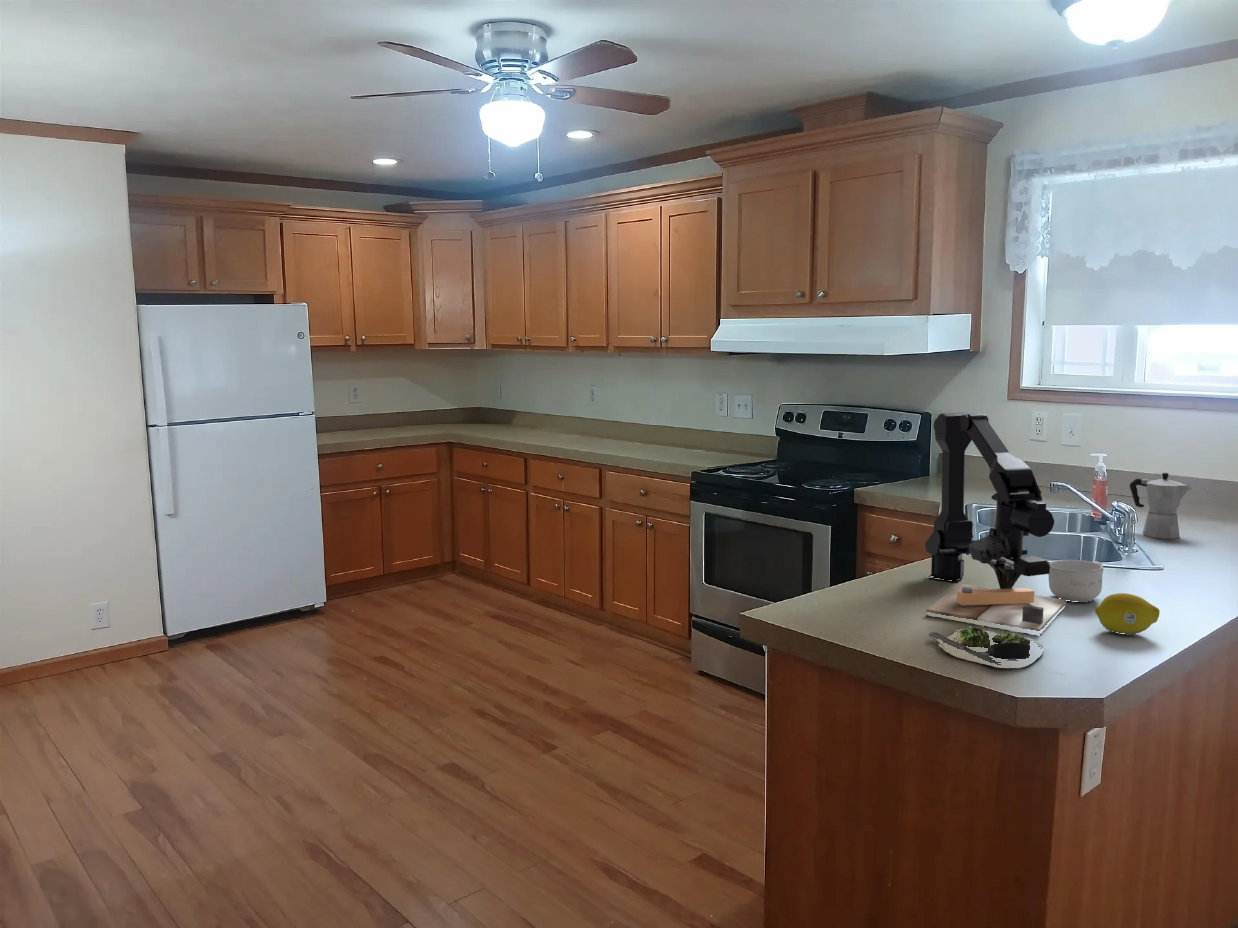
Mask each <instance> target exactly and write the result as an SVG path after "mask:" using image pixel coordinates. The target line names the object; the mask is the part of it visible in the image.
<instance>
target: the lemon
mask: <svg viewBox="0 0 1238 928" xmlns="http://www.w3.org/2000/svg"><path fill="white" fill-rule="evenodd" d="M1094 612H1095V615H1096V616H1097V617H1098V620H1099V622H1100V624H1101V625H1102V627H1103V628H1104V629H1105V630H1108V631H1109V630H1110V631H1109V632H1111V631H1113V632H1118V633H1125V634H1133V635H1136V633H1137V634H1141V633H1142V632H1144V631H1146V630H1148V629H1149V628H1150V627H1151V626H1152V625H1154V624H1155V623H1156V622H1158V619H1159V617H1160V609H1159V608H1158V607H1157V606H1156V605H1153V604H1151V603H1150V602H1149V601H1147V600H1146V599H1144V598H1143V597H1141V596H1138V595H1135V594H1132V593H1123V592H1118V593H1113V594H1109V595H1106V597H1105V598H1104V599H1103V600H1102V601H1101V602H1100V604H1099V605H1098V606H1096V608H1095V609H1094ZM1113 632H1112V633H1113Z"/></svg>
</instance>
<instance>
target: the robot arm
mask: <svg viewBox="0 0 1238 928" xmlns="http://www.w3.org/2000/svg"><path fill="white" fill-rule="evenodd" d="M933 430H934V438H935V441H936V443H937V445H938V446H939V448H940V449H941V453H942V455H941V509H940V510H941V512H940V513H939V514H938V516H937V517H936V519H935V520H934V523H933V532H932V533H931V535H929V537H928V538H927V540H926V541H925V543H924V545H925V551H926V553H928V554H931V566H930V568H931V570H930V571H931V573H930V575H928V578H929V577H930V576H934V577H933V578H940V579H944V580H952V581H957V580H958V579H960V578H961V579H962V578H964V577H963V576H965V574H964V571H965V560H964V559H963V554H964V555H969V554H970V555H971V559H972V560H974V561H978V562H980V563H981V564H984V565H985V564H987V565H989V566H990V568H992V569H993V570H994V572H995V575H996V578H997V583H998V585H999V589H1011V588H1013V587H1014V585H1015V584H1016V583H1017V581H1018V579H1019V578H1020V577H1021V575H1022V576H1024V577H1032V576H1033V577H1034V576H1042V575H1049V573H1050V562H1049V560H1047V559H1044V558H1042V557H1038V556H1036V555H1031V556H1026V555H1028V549H1026V548H1024V542H1025V541H1024V538H1025V537H1028V536H1029V535H1032V536H1034V537H1038V538H1041V537H1046V536H1048V534H1049V533H1051V532H1052V530H1053V529H1054V526H1055V518H1054V516H1053V514H1052V512H1050V510H1048V509H1047V503H1046V502H1042V501H1043V497H1042V494H1041V493H1042V491H1041V489H1040V487H1039V485H1038V482H1037V480H1036V476H1035V475H1034V472H1033V470H1032V469H1031V467H1030V466H1029V465H1027V464H1026V463H1025V461H1024V460H1022V459H1021V458H1018V457H1016V456H1015V455H1013V454H1011V452H1010V451H1009V450H1008V448H1007V446H1006V445H1005V444H1004V443H1003V441H1002V440H1001V438H1000V437H999V435H998V433H996V430H994V428H993V427H992V425H991V423H990V420H989V417H988V415H987V414H985V413H982V412H981V413H978V412H977V413H976V412H975V413H967V412H948V413H947V412H945V413H940V414H939V415H938V416H937V418H935V420H934V421H933ZM971 442H973V444H974V445H975V447H976V449H977V450H978V452H979V453H980V454H981V456H982V458H983V459H984V461H985V462H986V463H987V465H988V468H989V475H988V479H989V480H990V482H991V485H992V486H993V489H994V491H996V493H994V494H993V495H992V496H991V499H992V500H993V501H996V508H995V509H996V510H995V523H994V527H992V526H991V527H990V529H989V530H988V535H986V536H984V537H981V538H979V539H973V538H974V535H973V525H974V523H973V521H972V520H969V518H968V517H967V515H966V513H965V463H966V462H965V461H966V460H965V455H966V450H967V449H968V447H969V445H970V444H971ZM961 579H960V580H961ZM958 581H959V580H958ZM958 581H957V582H958Z"/></svg>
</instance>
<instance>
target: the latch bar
mask: <svg viewBox="0 0 1238 928" xmlns="http://www.w3.org/2000/svg"><path fill="white" fill-rule="evenodd" d="M1034 595H1035V590H1033V589H1031V588H1029V587H1018V588H1017V587H1015V588H1013V587H1012V588H1011V589H1000V588H993V589H985V590H972V588H970V587H962V590H959V591H957V602H958V603H959V604H961V605H962V606H963V605H988V604H1014V603H1034Z"/></svg>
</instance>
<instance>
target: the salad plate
mask: <svg viewBox="0 0 1238 928" xmlns="http://www.w3.org/2000/svg"><path fill="white" fill-rule="evenodd" d="M958 630H960V631H958ZM984 630H985V629H983V628H980V627H979V628H978V627H976V626H972V625H970V626H968V627H966V628H960V629H958V628H957V627H956V628H955V631H954V632H957V636H956V638H953V639H954V641H953V640H950V639H948V638H946V637H947V636H945V635H942V634H940V633H938V632H934V631H931V632H928V636H929V637H930V636H931V637H930V638H932V637H933V638H936V639H940V640H942V641H943V643H947V644H948V645H951V646H953V647H956V648H957V649H961V650H965V651H966V652H968V653H969V654H972V655H973V656H977V657H978V658H981V659H983V660H985V661H988V662H990V663H995V664H997V665H1001V664H998V663H1001V662H996V661H995V660H992V659H993V658H991V657H989V656H993V657H995V658H1001V659H1008V660H1006V661H1018V660H1016V659H1026V658H1029V656H1030V654H1029V650H1030V645H1029V644H1030V641H1034V643H1037V645H1039V646H1038V647H1041V648H1040V649H1042V648H1044V646H1043V645H1042V643H1040V642H1039V641H1036V640H1035V639H1034V638H1033V639H1032V638H1030V637H1024V636H1023V635H1019V634H1017V633H1015V632H1012V633H1009V632H1010V631H1008V632H1004V633H1002V634H1000V635H998V634H997V635H995V636H994V637H993V638H992V640H993V642H995V643H998V644H994V645H991V646H990V640H989V635H988V633H987V632H985V631H984ZM986 630H987V631H990V632H994V631H992V630H988V629H986ZM933 638H932V639H933ZM955 639H956V640H957V641H956V642H955ZM1029 639H1030V640H1029ZM940 645H943V644H940ZM966 646H968V647H981V648H982V647H984V648H988V651H986V652H976V651H973V650H971V649H969V648H967V647H966ZM941 647H944V646H941ZM944 649H946V648H944Z"/></svg>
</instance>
